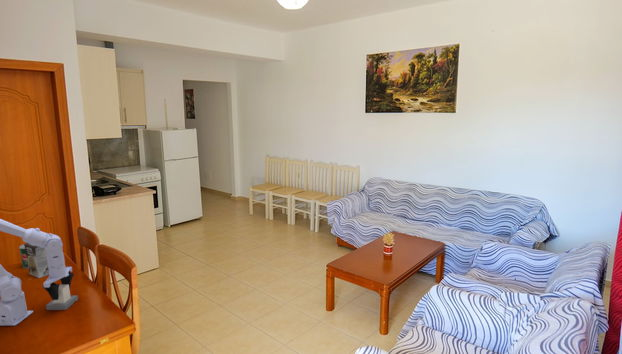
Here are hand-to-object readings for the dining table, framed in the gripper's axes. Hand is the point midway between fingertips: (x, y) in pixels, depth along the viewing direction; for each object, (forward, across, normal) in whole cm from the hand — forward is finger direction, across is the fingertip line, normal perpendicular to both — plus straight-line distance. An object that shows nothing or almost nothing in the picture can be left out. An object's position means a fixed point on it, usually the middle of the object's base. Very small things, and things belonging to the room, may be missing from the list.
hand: (61, 294), depth 154 cm
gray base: (+4, 0, 0) cm, 4 cm away
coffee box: (+5, +28, +30) cm, 42 cm away
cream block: (+2, 0, 0) cm, 2 cm away
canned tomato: (+5, +38, +42) cm, 57 cm away
